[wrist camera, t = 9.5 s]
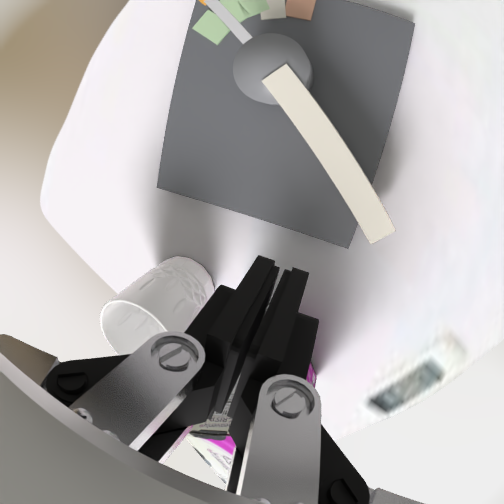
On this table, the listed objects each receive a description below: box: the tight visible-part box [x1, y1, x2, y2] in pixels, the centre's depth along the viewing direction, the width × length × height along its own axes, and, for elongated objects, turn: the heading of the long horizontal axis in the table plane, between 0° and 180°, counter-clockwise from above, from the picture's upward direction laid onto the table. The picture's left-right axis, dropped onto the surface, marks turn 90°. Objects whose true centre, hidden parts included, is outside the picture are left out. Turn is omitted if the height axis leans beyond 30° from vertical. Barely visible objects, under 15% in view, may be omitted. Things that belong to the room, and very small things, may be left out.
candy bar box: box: [185, 304, 316, 484], centre depth 25 cm, size 11×5×16 cm, turn 22°
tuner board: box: [157, 0, 415, 249], centre depth 23 cm, size 20×18×1 cm
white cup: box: [100, 256, 215, 355], centre depth 29 cm, size 8×8×10 cm
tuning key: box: [199, 0, 396, 244], centre depth 20 cm, size 22×5×4 cm, turn 37°
